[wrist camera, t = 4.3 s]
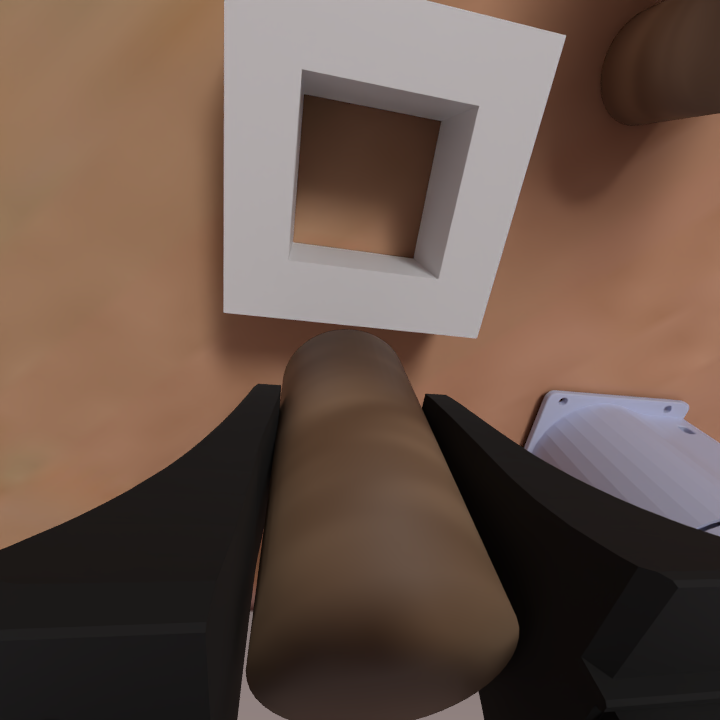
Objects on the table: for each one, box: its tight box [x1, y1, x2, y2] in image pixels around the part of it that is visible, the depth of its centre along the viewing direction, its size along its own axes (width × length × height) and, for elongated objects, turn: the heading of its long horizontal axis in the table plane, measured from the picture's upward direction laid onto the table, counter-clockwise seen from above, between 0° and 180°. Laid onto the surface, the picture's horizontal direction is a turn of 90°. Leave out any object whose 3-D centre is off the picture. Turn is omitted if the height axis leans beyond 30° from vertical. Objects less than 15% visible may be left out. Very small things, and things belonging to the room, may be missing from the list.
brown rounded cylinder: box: [246, 329, 519, 720], centre depth 9 cm, size 4×4×8 cm
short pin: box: [601, 0, 720, 125], centre depth 14 cm, size 4×4×4 cm
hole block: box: [224, 0, 566, 338], centre depth 15 cm, size 10×10×4 cm
